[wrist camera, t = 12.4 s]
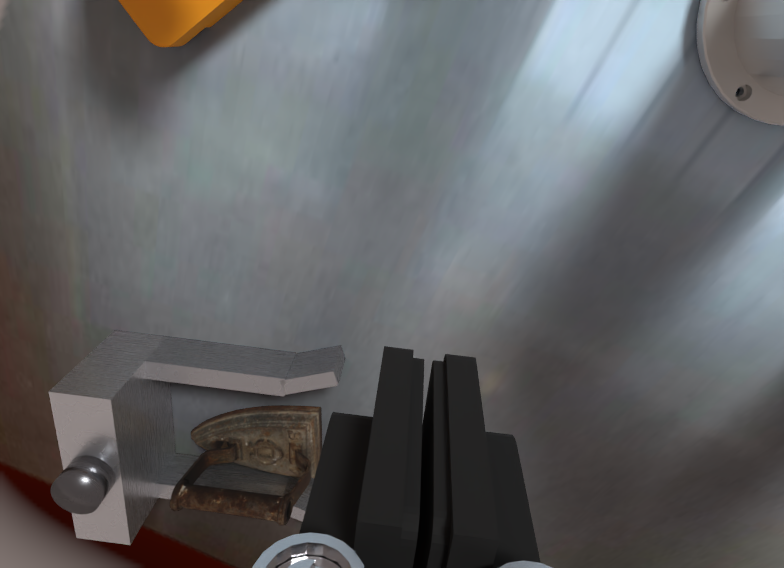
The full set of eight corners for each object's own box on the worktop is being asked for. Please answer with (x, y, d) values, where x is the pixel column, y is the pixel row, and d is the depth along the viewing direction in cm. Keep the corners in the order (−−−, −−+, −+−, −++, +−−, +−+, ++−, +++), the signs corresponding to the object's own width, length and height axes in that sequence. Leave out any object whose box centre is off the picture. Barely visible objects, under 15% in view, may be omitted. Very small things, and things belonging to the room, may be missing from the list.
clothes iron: (333, 467, 48) (278, 573, 39) (219, 435, 50) (145, 527, 42) (330, 406, 44) (268, 508, 36) (208, 376, 47) (124, 463, 39)
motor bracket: (346, 346, 41) (322, 434, 32) (334, 497, 48) (311, 606, 39) (113, 316, 42) (24, 395, 33) (132, 470, 48) (62, 572, 39)
